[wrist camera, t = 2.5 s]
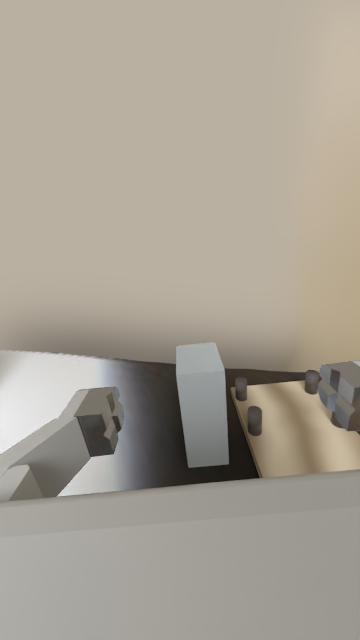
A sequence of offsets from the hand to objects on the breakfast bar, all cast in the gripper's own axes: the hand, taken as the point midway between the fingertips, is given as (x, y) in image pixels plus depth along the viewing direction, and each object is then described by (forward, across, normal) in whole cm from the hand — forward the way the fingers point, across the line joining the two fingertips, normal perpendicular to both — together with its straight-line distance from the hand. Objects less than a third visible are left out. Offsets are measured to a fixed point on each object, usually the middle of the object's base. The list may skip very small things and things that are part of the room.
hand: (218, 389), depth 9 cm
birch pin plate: (+14, -11, +18) cm, 25 cm away
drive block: (+13, 0, +18) cm, 22 cm away
